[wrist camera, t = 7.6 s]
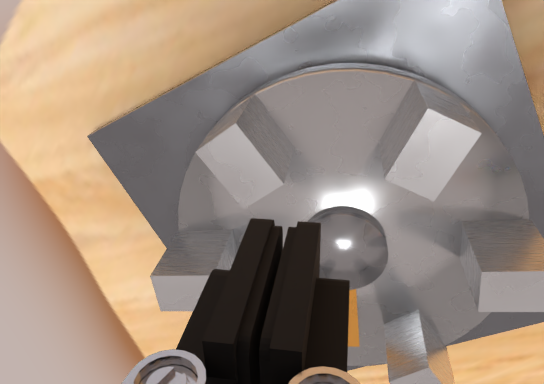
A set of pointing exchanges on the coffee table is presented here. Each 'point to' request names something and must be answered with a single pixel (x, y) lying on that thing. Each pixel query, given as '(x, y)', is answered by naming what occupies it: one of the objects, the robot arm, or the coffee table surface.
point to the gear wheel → (367, 208)
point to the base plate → (341, 49)
